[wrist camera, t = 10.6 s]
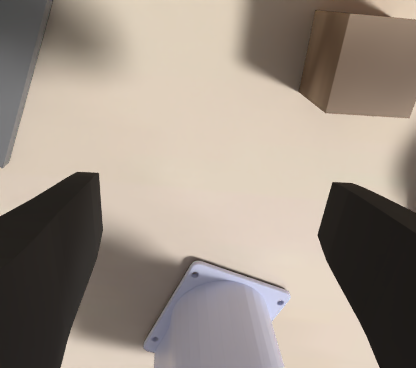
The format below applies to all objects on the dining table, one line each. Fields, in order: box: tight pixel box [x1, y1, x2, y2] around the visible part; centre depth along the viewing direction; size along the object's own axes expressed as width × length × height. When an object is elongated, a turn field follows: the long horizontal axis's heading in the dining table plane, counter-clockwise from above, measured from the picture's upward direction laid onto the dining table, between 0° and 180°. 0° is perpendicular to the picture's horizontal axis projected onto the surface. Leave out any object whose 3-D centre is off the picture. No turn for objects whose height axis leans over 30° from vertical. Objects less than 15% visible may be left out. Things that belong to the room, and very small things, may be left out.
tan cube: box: [299, 10, 416, 118], centre depth 16 cm, size 4×4×4 cm
